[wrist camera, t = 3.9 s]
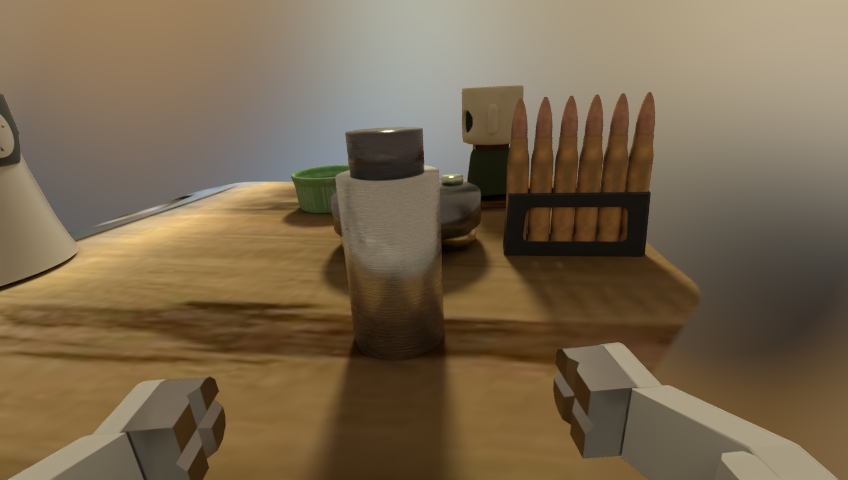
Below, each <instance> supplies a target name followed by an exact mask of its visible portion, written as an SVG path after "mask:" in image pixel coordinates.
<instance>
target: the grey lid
mask: <svg viewBox="0 0 848 480" xmlns="http://www.w3.org/2000/svg"><path fill="white" fill-rule="evenodd" d="M439 190H440V220H441V248H442V249H443V250H445V251H451V252H457V251H463V250H466V249H467V248H468V247H469V243H470V242H472V241H474V240H475V238H476V229H475V228H476V227H477V226H478V225H479V223H480V221H481V190H480V188H479V187H477V186H476V185H474V184H471V183H468V182H464V181H463V176H462V175H458V174H449V175H443V176H442V178H439ZM330 201H331V209H332V217H333V225H334V230H335V232H336V233H337V234H338V235H340V236H341V243H342V248H343V249H344V246H343V237H342V229H341V221H340V213H339V205H338V196H337V192H336V193H335V194H333V195H332V196H331V199H330Z"/></svg>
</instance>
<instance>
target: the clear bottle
mask: <svg viewBox="0 0 848 480" xmlns="http://www.w3.org/2000/svg"><path fill="white" fill-rule="evenodd" d="M345 134H346V143H347V152H348V162H349V170H348V171H344V172H342V173H339V174H338V175H336V177H335V180H336V188H337V196H338V205H339V213H340V221H341V229H342V237H343V246H344V254H345V262H346V270H347V279H348V287H349V295H350V303H351V312H352V320H353V328H354V336H355V342H356V345H357V346H358V348H359V349H360V350H361V351H362V352H364V353H365V354H367V355H369V356H372V357H375V358H379V359H385V360H403V359H410V358H414V357H417V356H420V355H423V354H425V353H427V352H429V351H431V350H432V349H434V348H435V347H436V346H437V345H438V344H439V343H440V342H441V340H442V339H443V336H444V312H443V281H442V251H441V220H440V190H439V170H438V169H437V168H434V167H430V166H425V165H424V151H423V130H422V128H416V127H393V128H374V129H363V130H355V131H349V132H346V133H345Z"/></svg>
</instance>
